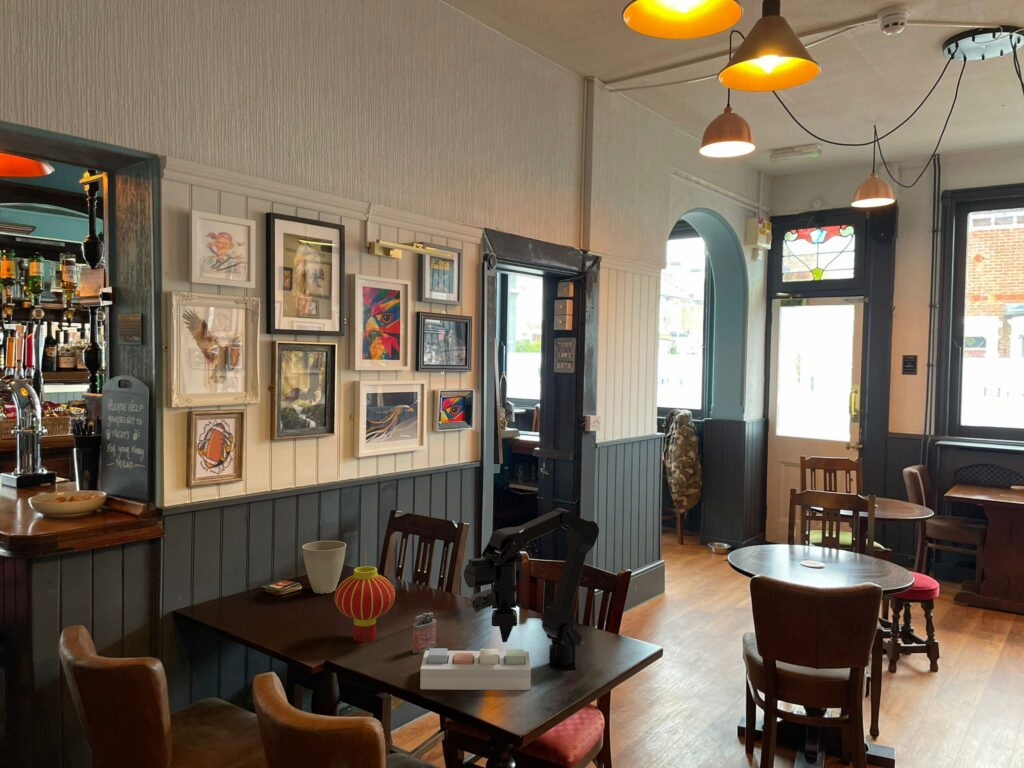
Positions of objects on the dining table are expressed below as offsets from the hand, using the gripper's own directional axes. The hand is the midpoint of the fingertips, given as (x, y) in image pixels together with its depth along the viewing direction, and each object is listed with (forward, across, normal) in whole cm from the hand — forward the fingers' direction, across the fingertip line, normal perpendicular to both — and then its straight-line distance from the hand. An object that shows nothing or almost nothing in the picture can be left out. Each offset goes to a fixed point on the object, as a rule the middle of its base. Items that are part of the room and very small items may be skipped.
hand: (504, 641), depth 191 cm
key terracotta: (+6, 0, -10) cm, 12 cm away
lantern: (+9, -27, -41) cm, 50 cm away
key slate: (+5, +1, -17) cm, 18 cm away
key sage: (+5, 0, +3) cm, 6 cm away
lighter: (+10, -19, -23) cm, 31 cm away
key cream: (+5, 0, -4) cm, 6 cm away
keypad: (+10, 0, -7) cm, 12 cm away
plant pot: (+10, -72, -64) cm, 96 cm away
